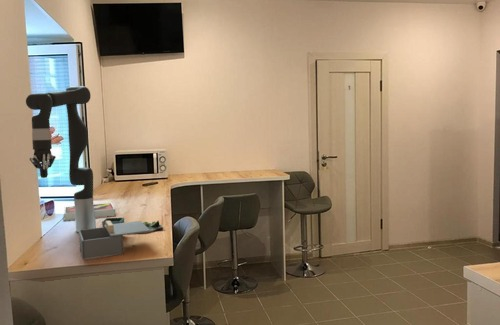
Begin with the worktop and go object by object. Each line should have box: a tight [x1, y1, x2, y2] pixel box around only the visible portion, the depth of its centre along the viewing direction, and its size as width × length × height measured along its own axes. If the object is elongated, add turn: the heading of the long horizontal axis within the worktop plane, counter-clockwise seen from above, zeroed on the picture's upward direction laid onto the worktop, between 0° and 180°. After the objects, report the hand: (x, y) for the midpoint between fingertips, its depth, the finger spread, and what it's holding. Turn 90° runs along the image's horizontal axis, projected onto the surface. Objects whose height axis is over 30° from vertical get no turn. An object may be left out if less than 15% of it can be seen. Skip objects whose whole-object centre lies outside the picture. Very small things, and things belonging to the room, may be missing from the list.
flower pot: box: [101, 217, 125, 227], centre depth 201 cm, size 9×9×9 cm
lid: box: [104, 220, 151, 237], centre depth 185 cm, size 17×21×4 cm
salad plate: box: [141, 220, 164, 234], centre depth 215 cm, size 19×18×5 cm
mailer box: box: [78, 226, 124, 261], centre depth 180 cm, size 16×20×8 cm
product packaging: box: [63, 202, 116, 222], centre depth 255 cm, size 22×28×5 cm
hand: (44, 177), depth 184 cm, fingers closed
